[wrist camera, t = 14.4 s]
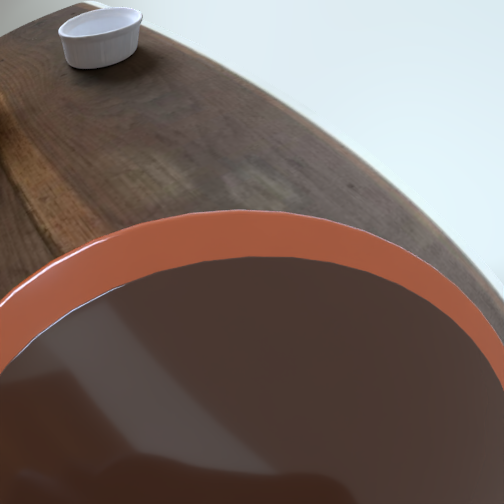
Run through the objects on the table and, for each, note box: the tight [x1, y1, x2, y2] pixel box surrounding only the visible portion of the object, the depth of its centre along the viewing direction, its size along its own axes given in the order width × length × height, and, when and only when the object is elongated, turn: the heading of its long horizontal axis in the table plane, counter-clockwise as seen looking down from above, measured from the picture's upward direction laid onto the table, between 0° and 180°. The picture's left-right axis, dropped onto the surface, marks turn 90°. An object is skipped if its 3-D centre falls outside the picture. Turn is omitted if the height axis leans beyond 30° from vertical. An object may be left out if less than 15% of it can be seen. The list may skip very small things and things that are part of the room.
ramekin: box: [59, 7, 143, 69], centre depth 24 cm, size 9×9×4 cm
